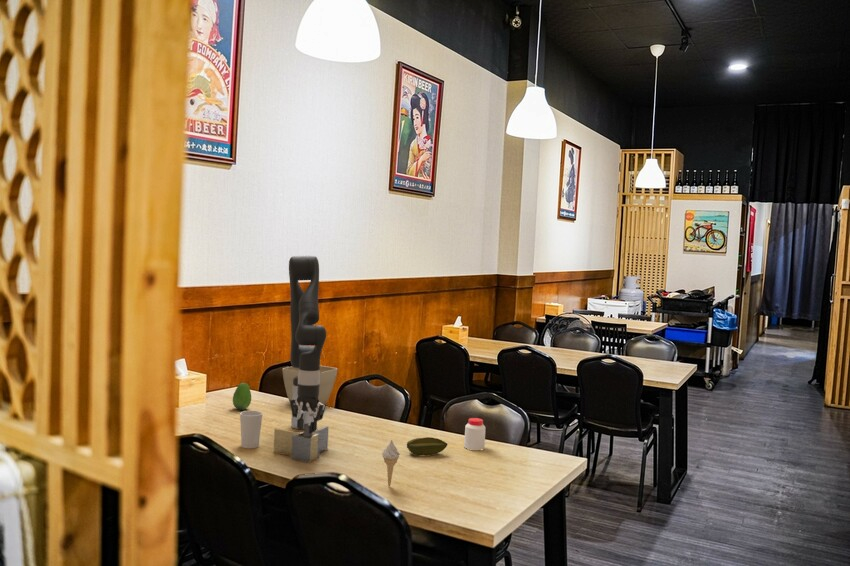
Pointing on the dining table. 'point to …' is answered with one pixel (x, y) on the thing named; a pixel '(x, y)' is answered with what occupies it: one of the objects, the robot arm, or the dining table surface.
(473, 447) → the pill bottle
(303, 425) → the robot arm
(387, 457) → the ice cream cone
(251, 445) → the cup
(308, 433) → the hinge pin
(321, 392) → the flower pot
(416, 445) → the fruit
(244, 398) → the fruit
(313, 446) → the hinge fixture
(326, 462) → the dining table surface
